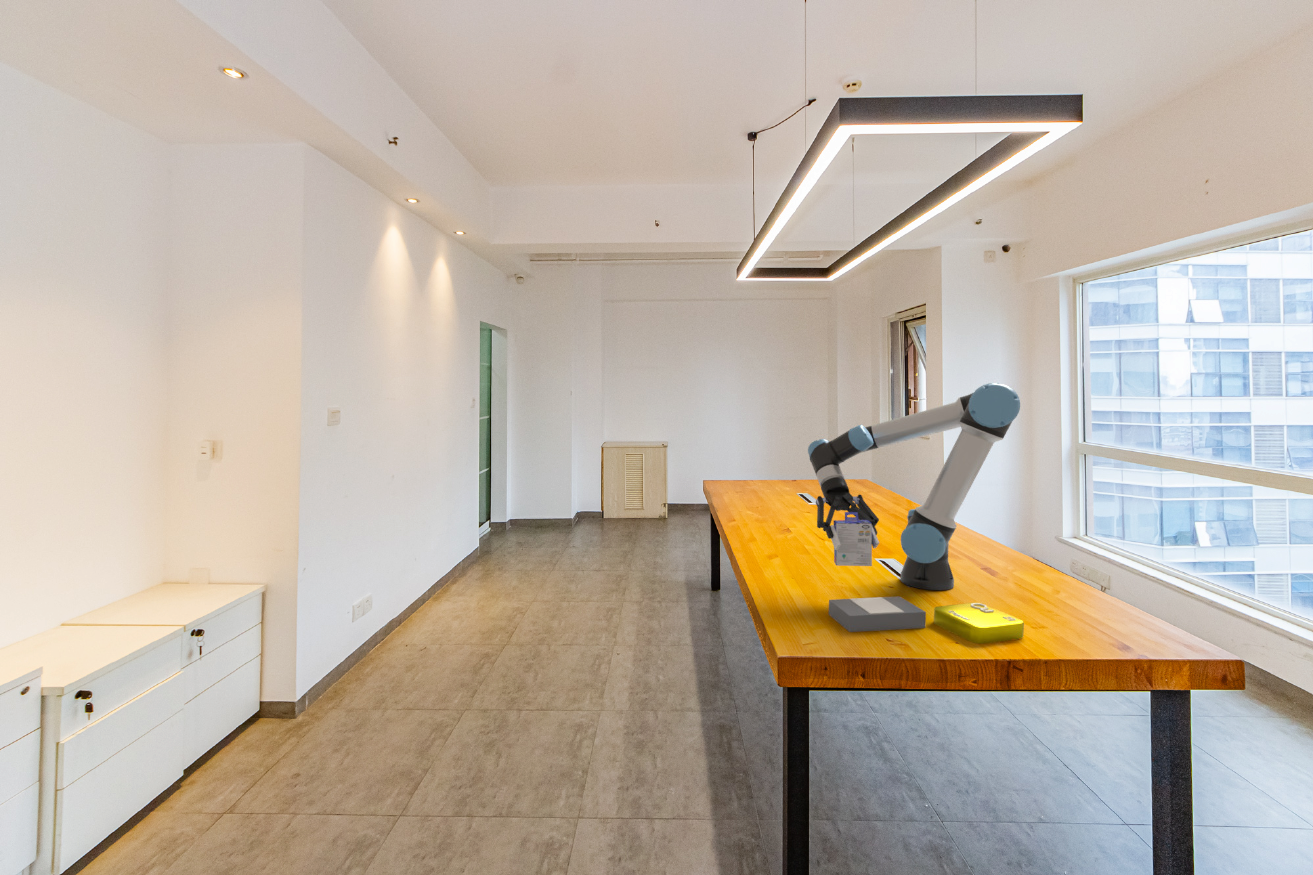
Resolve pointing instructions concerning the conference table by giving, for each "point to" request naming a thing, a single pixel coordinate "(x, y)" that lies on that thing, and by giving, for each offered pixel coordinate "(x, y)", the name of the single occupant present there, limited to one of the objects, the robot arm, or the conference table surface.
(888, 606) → the grey flat block
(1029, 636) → the conference table surface
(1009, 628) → the element tile
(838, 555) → the ink cartridge box
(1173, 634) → the conference table surface
